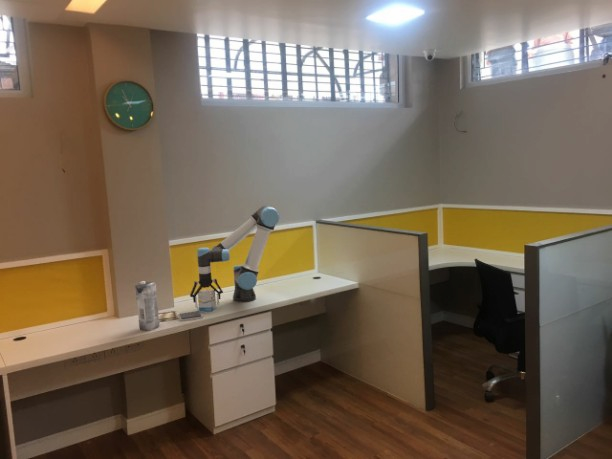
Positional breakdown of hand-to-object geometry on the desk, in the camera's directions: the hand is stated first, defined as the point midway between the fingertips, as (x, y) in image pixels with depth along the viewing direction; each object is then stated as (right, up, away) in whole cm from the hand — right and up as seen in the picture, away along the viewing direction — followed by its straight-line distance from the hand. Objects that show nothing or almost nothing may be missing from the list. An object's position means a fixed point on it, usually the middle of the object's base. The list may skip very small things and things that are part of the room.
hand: (207, 305), depth 334 cm
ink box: (0, -2, 0) cm, 2 cm away
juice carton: (-27, -8, -32) cm, 42 cm away
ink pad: (-8, -5, -14) cm, 16 cm away
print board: (-24, -5, -13) cm, 28 cm away
